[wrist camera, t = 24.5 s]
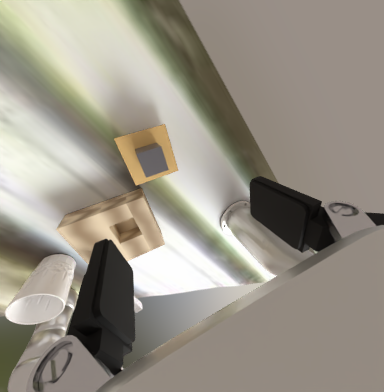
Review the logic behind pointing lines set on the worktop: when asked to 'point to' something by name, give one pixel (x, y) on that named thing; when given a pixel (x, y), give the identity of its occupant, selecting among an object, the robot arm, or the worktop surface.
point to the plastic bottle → (41, 344)
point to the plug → (147, 154)
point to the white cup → (43, 291)
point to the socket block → (114, 226)
